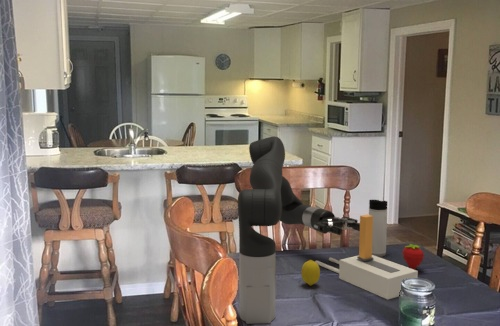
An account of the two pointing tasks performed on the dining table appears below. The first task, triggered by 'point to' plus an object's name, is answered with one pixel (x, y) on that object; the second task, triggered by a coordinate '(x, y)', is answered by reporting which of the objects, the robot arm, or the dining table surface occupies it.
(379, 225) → the travel mug
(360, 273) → the switch box
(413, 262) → the strawberry
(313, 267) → the lemon
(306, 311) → the dining table surface
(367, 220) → the handle
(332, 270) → the cords
